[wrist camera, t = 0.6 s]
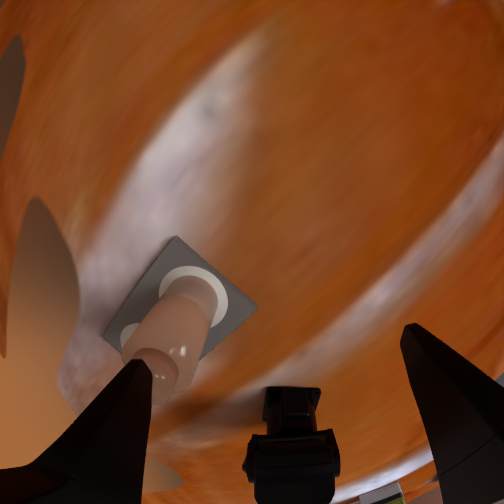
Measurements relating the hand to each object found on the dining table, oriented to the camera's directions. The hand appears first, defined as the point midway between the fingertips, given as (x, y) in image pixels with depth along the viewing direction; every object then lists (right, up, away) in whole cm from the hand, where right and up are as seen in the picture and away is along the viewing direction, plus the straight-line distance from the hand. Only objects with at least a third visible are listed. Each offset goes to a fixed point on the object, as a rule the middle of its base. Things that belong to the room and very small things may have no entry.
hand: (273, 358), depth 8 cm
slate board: (-9, -4, +19) cm, 22 cm away
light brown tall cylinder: (-6, -1, +17) cm, 19 cm away
